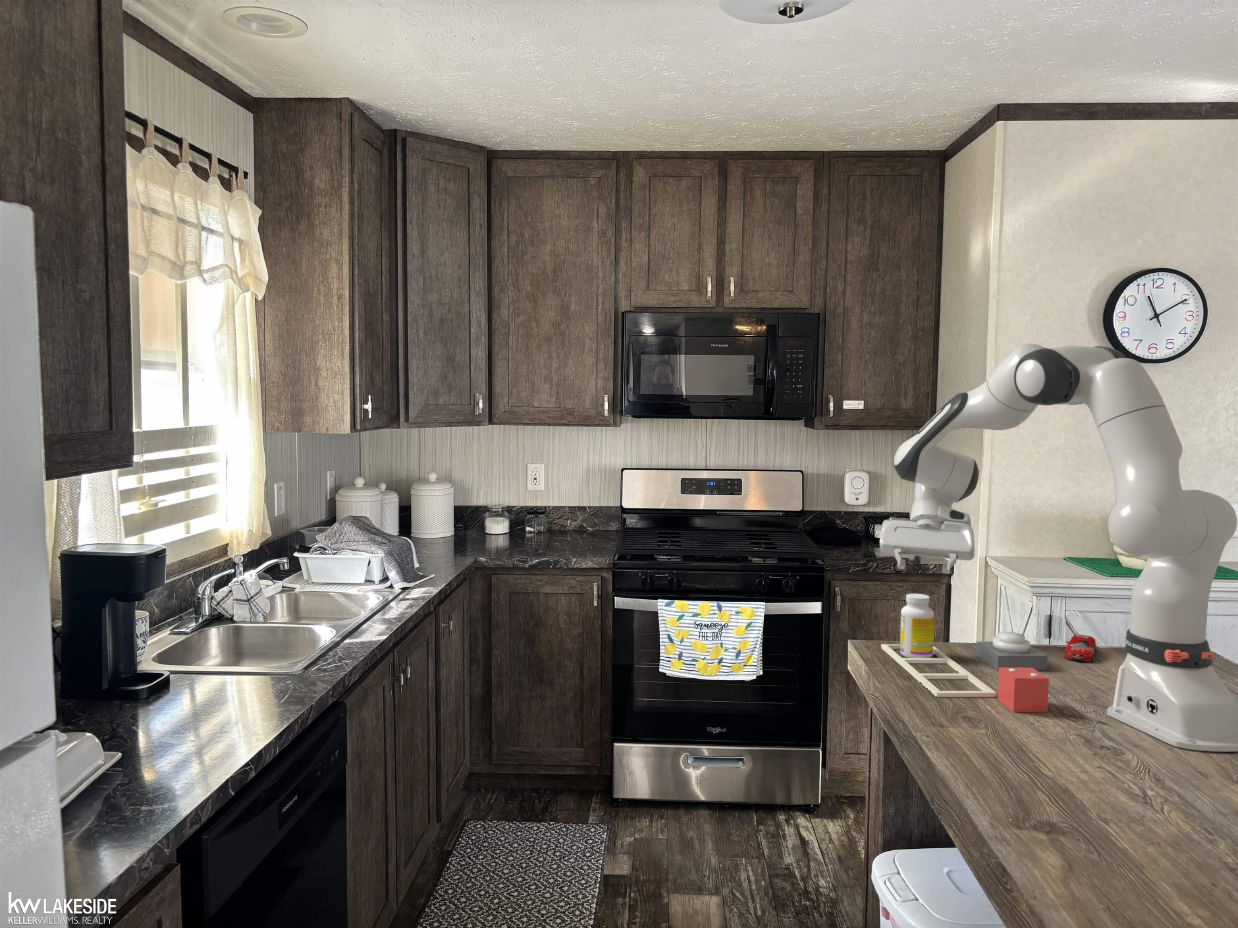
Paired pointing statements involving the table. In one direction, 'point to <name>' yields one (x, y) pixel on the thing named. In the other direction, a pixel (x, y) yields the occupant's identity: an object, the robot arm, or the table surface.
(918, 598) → the supplement bottle
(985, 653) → the dome base
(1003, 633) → the dome
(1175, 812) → the table surface
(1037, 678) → the die
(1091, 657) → the race car
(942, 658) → the track
